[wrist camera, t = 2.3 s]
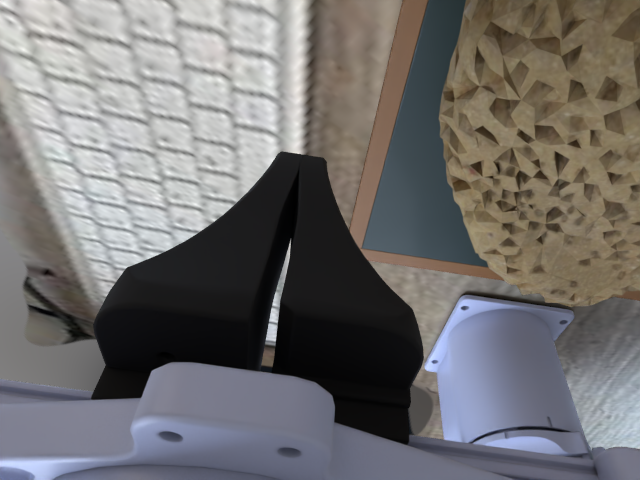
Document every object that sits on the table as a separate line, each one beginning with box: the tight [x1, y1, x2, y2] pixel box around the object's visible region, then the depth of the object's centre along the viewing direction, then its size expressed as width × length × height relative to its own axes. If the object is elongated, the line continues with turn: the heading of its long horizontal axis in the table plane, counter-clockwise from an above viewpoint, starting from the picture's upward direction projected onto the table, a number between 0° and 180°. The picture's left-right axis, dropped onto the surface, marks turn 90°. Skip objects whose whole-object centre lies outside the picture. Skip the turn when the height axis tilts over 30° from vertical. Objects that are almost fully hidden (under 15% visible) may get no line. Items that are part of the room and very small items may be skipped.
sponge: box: [439, 0, 640, 307], centre depth 19 cm, size 13×8×20 cm
